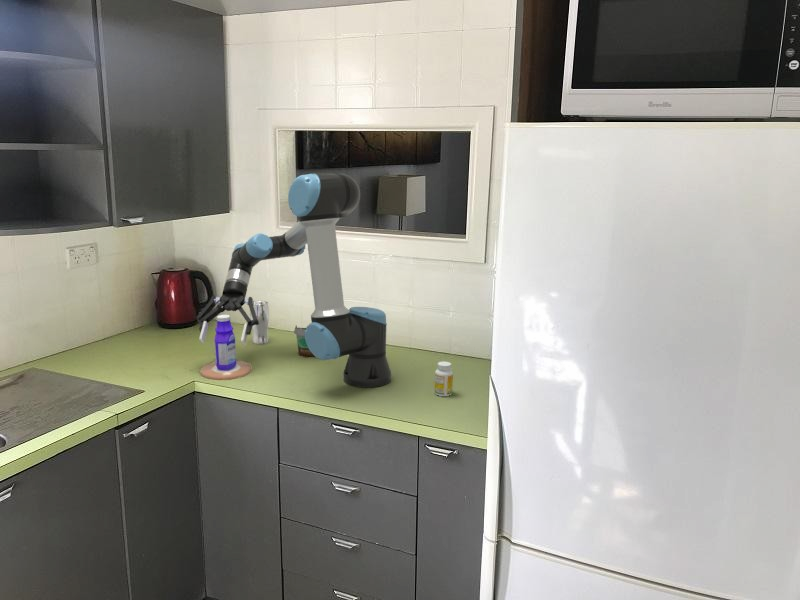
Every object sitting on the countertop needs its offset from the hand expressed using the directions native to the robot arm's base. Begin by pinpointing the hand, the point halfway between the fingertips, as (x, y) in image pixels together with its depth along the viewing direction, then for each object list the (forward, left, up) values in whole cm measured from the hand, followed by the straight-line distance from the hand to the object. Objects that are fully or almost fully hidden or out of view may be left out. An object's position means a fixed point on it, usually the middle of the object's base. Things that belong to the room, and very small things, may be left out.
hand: (222, 341), depth 208 cm
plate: (+1, -2, -11) cm, 11 cm away
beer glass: (+11, -33, -11) cm, 37 cm away
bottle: (+1, -2, -10) cm, 10 cm away
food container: (-14, -28, -11) cm, 33 cm away
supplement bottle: (-69, -17, -11) cm, 72 cm away
